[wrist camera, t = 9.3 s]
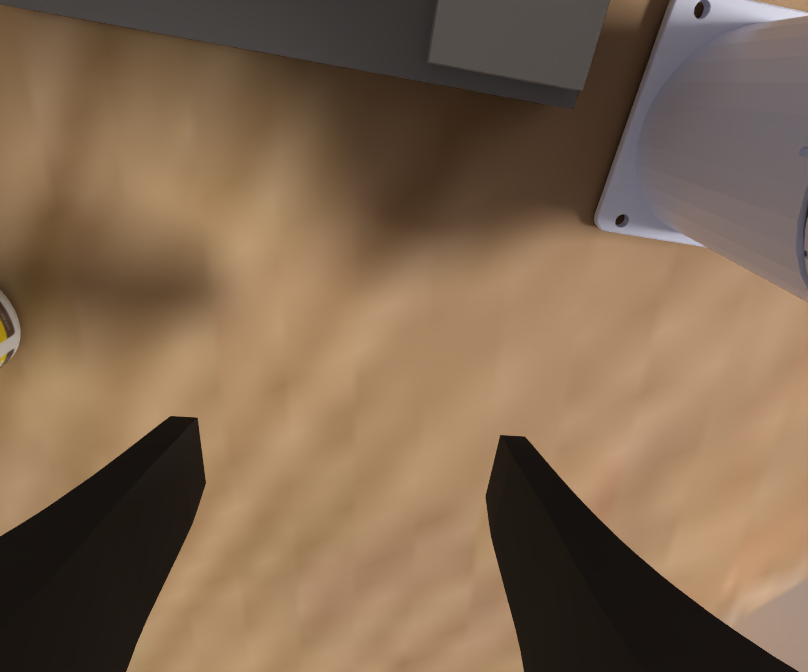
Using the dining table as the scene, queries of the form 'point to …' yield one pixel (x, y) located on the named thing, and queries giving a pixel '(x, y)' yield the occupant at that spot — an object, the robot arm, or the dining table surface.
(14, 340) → the supplement bottle
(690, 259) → the dining table surface
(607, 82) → the dining table surface
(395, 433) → the dining table surface
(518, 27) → the camera body
